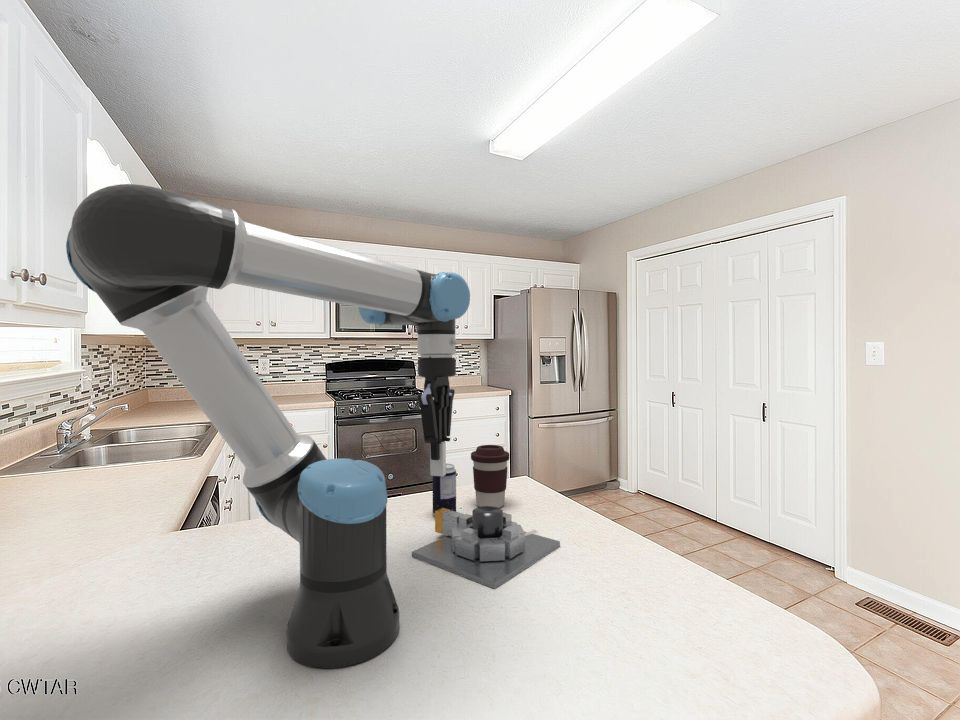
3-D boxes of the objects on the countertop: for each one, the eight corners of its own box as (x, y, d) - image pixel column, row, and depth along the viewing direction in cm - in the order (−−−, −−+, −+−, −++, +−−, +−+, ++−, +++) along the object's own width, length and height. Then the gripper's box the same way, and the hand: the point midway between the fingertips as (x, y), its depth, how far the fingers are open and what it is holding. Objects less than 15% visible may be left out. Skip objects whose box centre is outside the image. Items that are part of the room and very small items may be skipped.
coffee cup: (465, 502, 125) (464, 445, 124) (498, 497, 129) (498, 442, 128) (481, 513, 116) (480, 452, 115) (516, 507, 120) (516, 448, 119)
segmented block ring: (494, 568, 84) (494, 542, 84) (415, 540, 96) (415, 517, 96) (536, 543, 95) (536, 520, 95) (460, 521, 107) (460, 500, 107)
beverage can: (457, 511, 117) (457, 463, 117) (454, 519, 111) (454, 469, 111) (435, 511, 118) (434, 462, 117) (430, 519, 112) (430, 468, 112)
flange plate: (494, 588, 79) (494, 541, 79) (401, 552, 93) (401, 512, 93) (564, 543, 97) (564, 504, 97) (477, 519, 112) (477, 485, 111)
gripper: (441, 356, 86) (442, 485, 87) (466, 355, 99) (467, 468, 99) (404, 357, 89) (405, 482, 89) (433, 356, 101) (434, 466, 101)
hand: (438, 474), depth 94 cm, fingers closed
